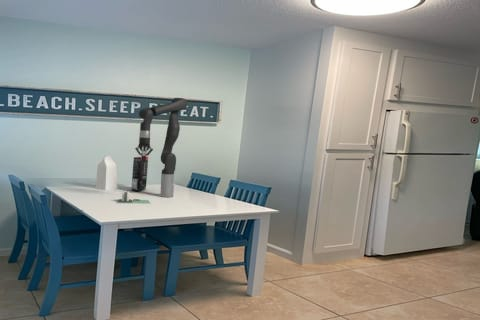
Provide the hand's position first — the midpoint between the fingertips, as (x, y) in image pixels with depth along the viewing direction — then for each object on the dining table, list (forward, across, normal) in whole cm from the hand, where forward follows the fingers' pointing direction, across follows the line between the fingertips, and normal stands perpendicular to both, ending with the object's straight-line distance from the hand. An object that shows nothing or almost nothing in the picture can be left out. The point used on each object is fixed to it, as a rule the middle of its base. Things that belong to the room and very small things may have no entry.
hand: (143, 161), depth 323 cm
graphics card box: (+27, -3, -41) cm, 49 cm away
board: (+27, +8, +18) cm, 33 cm away
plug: (+26, +13, +18) cm, 34 cm away
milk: (+27, +22, -48) cm, 59 cm away
